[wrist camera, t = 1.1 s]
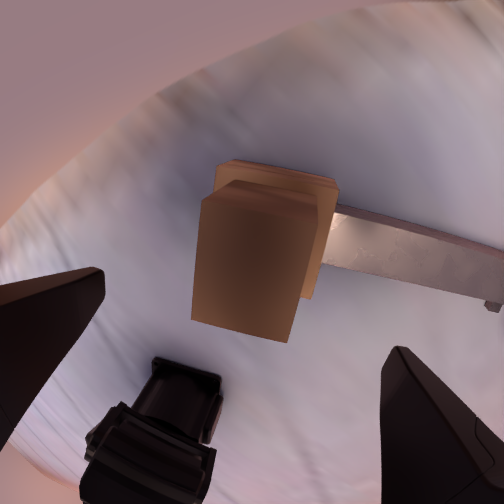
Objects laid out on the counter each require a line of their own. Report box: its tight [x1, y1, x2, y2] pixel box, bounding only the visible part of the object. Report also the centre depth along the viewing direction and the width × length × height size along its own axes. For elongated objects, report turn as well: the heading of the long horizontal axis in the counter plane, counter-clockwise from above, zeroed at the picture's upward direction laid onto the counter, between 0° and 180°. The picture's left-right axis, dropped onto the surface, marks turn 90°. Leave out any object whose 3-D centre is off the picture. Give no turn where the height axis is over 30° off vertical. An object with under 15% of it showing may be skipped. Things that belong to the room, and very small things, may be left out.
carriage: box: [191, 159, 339, 343], centre depth 15 cm, size 6×6×8 cm
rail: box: [321, 204, 504, 313], centre depth 18 cm, size 22×6×2 cm, turn 81°
